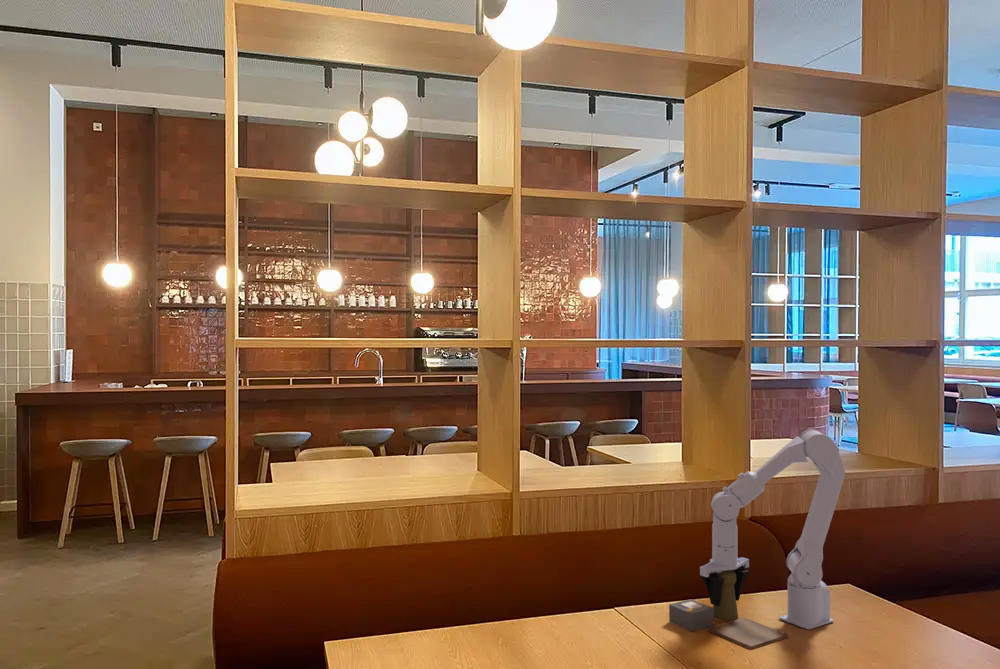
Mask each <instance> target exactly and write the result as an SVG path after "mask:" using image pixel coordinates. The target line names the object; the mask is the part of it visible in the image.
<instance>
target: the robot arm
mask: <svg viewBox="0 0 1000 669" xmlns="http://www.w3.org/2000/svg"><path fill="white" fill-rule="evenodd" d="M807 458H809V459H810V460H811V461H812V462H813V464H814V466H815V468H816V470H818V473H819V477H818V480H817V482H816V487H815V490H814V493H813V497H812V499H811V504H810V506H809V510H808V512H807V513H808V514H807V516H806V518H805V523H804V526H803V528H802V531H801V532H802V533H801V535H800V538H798V540H797V541H796V543H795V546H794V548H793V549H792V550H791V551H790V552H789V553H788V555H787V558H786V566H787V568H788V570H789V571H790V572H791V573H790V575H789V576H788V578H787V614H784V615H781V616H779V617H778V618H779V620H781V621H784V622H786V623H789V624H792V625H793V626H797V627H800V628H802V629H805V630H812V629H815V628H818V627H822V626H824V625H828V624H831V623H833V622H834V619H833V618H831V592H830V589H829V587H828V585H827V584H826V583H825V582H824V581H823V580H822V579H823V576H824V574H823V568H822V564H823V561H824V553H823V552H824V550H823V549H824V544H825V541H826V538H827V535H828V532H829V529H830V524H831V522H832V519H833V516H834V513H835V509H836V506H837V504H838V503H837V502H838V500H839V497H840V496H839V495H840V493H841V491H842V486H843V484H844V480H845V477H846V471H845V468H844V464H843V461H842V458H841V455H840V448H839V447H838V445H837V444H836V443H835V442H834V440H833V439H832V438H831V437H830V436H828V435H826V434H824V433H822V432H821V431H819V430H817V429H812V428H811V429H806V430H804V431H803V432H801V434H800V435H799V436H796V437H794V438H793V439H792V440H790V441H789V442H788V443H787V444H785V445H784V446H783V447H782V448H781V449H780V450H779V451H778V452H776V453H775V454H774V455H773V456H771V458H770V459H768V461H766V462H765V463H764V464H763V465H762V466H760V467H759V468H758V469H757V470H756V471H750V470H749V471H746V472H744V473H743V472H740V473H739V474H737V477H738V478H736V480H734V481H733V482H732V483H731V484H729V485H728V486H724V487H722V491H721V492H720V491H719V492H717V493H716V494H714V495H713V496H712V499H711V502H710V508H711V509H712V511H713V512H712V514H713V515H712V524H711V533H712V534H711V535H712V536H711V540H712V541H711V542H712V543H711V544H712V545H711V548H712V550H711V558H710V559H709V562H708V563H706V564H704V565H701V566H699V576H700V578H701V580H702V581H703V583H704V586H705V587H706V591H707V593H708V597H709V601H710V604H711V605H712V606H713V605H715V606H719V605H720V596H721V588H722V584H723V582H724V578H721V577H719V575H718V573H721V572H722V571H726V570H732V571H734V572H735V574H736V583H735V584H734V589H735V597H736V602H737V601H739V600H740V597H741V593H742V591H743V590H742V589H743V586H744V583H745V582H746V580H747V578H748V577H749V576H750V570H748V569H747V568H749V567H750V559H749V558H745V557H738V524H737V517H738V516H739V514H740V510H741V509H742V508H745V507H746V506H747V505H749V504H750V503H751V502H753V500H755V499H756V498H757V497H759V495H761V494H762V493H763V492H764V491H765V489H766V488H765V486H766V483H767V482H768V481H770V480H771V479H772V478H774V477H776V476H777V475H778V474H780V473H781V472H782V471H784V470H785V469H786V468H788V467H790V466H791V465H792V464H794V463H795V464H796V463H808V462H809V461H808V459H807Z"/></svg>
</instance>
